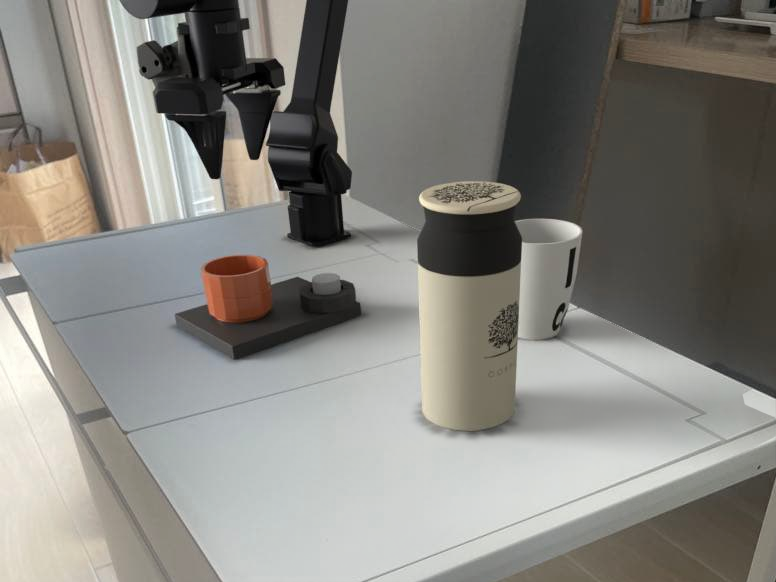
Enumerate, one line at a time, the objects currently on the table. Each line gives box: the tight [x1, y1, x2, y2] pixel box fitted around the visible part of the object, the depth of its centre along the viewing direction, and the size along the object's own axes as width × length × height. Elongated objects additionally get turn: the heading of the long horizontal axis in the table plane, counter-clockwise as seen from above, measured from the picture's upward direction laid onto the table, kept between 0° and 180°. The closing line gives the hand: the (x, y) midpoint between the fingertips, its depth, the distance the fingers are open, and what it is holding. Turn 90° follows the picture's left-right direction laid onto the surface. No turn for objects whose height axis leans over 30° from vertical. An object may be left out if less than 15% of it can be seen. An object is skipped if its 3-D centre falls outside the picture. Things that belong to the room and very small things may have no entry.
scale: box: [174, 276, 362, 360], centre depth 90 cm, size 16×12×3 cm
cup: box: [514, 218, 583, 341], centre depth 83 cm, size 8×8×10 cm
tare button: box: [311, 272, 341, 295], centre depth 89 cm, size 3×3×2 cm
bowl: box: [200, 254, 273, 323], centre depth 88 cm, size 7×7×5 cm
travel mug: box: [416, 180, 522, 432], centre depth 67 cm, size 8×8×18 cm
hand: (235, 169), depth 96 cm, fingers open, 9 cm apart
